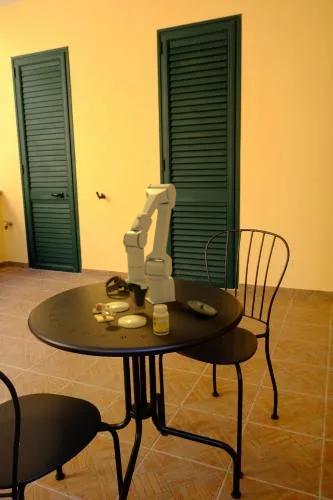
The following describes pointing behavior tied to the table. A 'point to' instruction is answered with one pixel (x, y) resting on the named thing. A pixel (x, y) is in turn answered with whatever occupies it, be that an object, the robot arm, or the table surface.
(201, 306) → the lid
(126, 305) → the dish low side
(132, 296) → the block
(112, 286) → the brown segmented ring
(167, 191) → the robot arm
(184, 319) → the table surface
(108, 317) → the balance
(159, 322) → the supplement bottle
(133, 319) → the cream round disc
